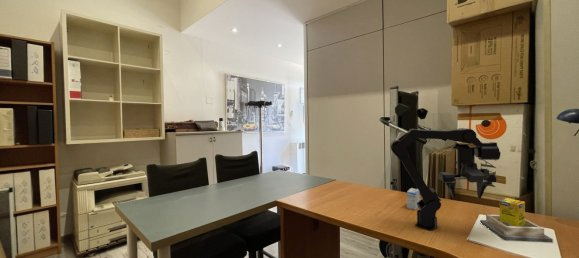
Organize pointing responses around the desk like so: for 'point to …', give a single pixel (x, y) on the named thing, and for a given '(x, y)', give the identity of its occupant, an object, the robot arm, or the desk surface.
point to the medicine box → (412, 198)
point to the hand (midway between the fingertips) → (466, 198)
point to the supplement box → (512, 212)
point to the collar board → (516, 230)
